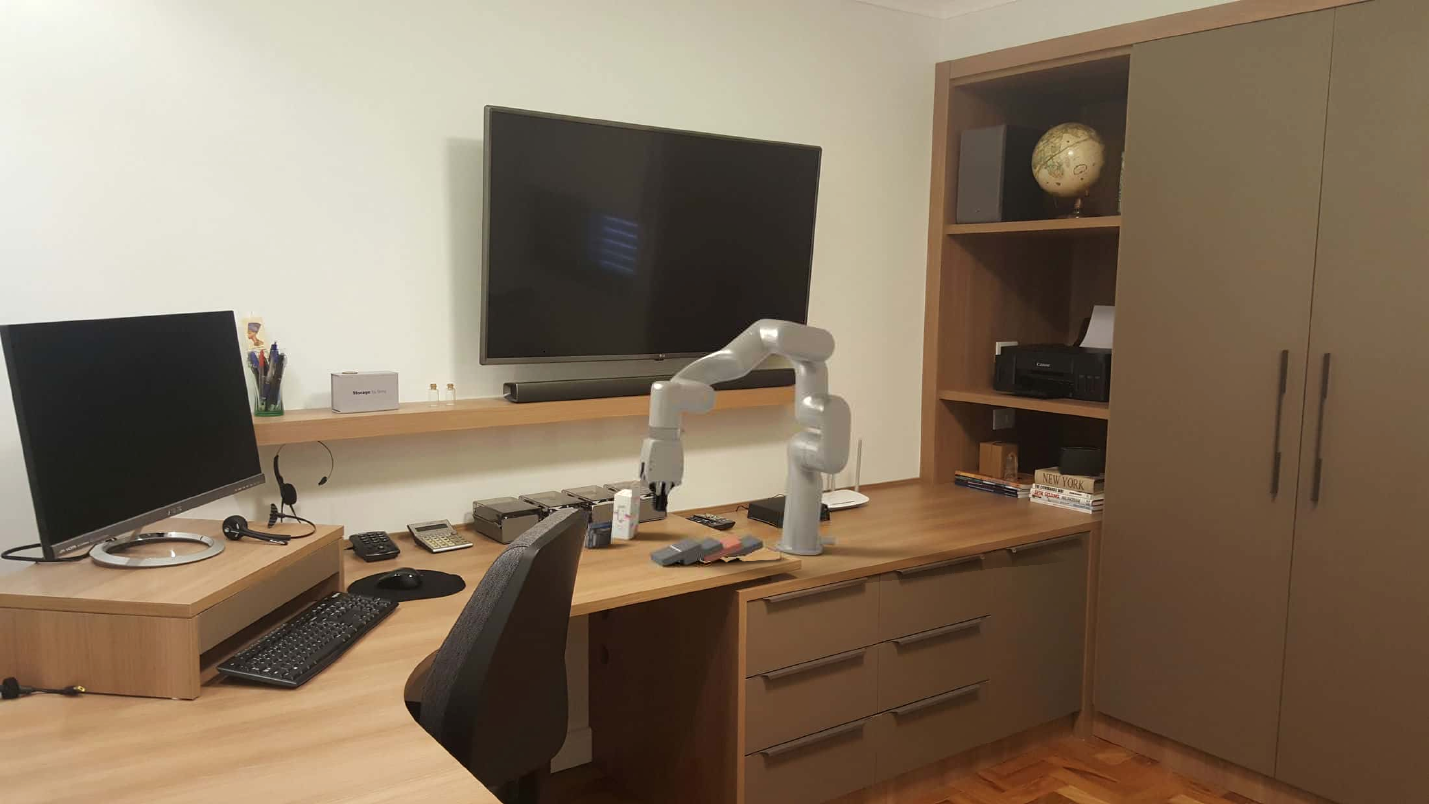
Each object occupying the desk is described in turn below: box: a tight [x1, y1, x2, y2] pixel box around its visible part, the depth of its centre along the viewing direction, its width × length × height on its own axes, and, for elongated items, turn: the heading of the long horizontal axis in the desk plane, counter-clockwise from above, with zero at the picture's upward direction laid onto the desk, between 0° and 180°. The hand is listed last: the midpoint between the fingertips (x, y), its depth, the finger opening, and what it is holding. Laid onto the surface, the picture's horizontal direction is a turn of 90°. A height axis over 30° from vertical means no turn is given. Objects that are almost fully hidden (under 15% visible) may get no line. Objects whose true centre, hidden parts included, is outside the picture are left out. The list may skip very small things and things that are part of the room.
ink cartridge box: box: [611, 479, 642, 541], centre depth 264 cm, size 9×5×15 cm, turn 168°
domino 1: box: [649, 537, 702, 568], centre depth 243 cm, size 2×6×11 cm
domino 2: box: [679, 536, 723, 566], centre depth 246 cm, size 2×6×11 cm
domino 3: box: [701, 536, 743, 562], centre depth 249 cm, size 2×6×11 cm
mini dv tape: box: [583, 520, 613, 550], centre depth 252 cm, size 8×2×6 cm, turn 143°
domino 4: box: [725, 534, 764, 558], centre depth 252 cm, size 2×6×11 cm
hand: (659, 510), depth 239 cm, fingers closed
